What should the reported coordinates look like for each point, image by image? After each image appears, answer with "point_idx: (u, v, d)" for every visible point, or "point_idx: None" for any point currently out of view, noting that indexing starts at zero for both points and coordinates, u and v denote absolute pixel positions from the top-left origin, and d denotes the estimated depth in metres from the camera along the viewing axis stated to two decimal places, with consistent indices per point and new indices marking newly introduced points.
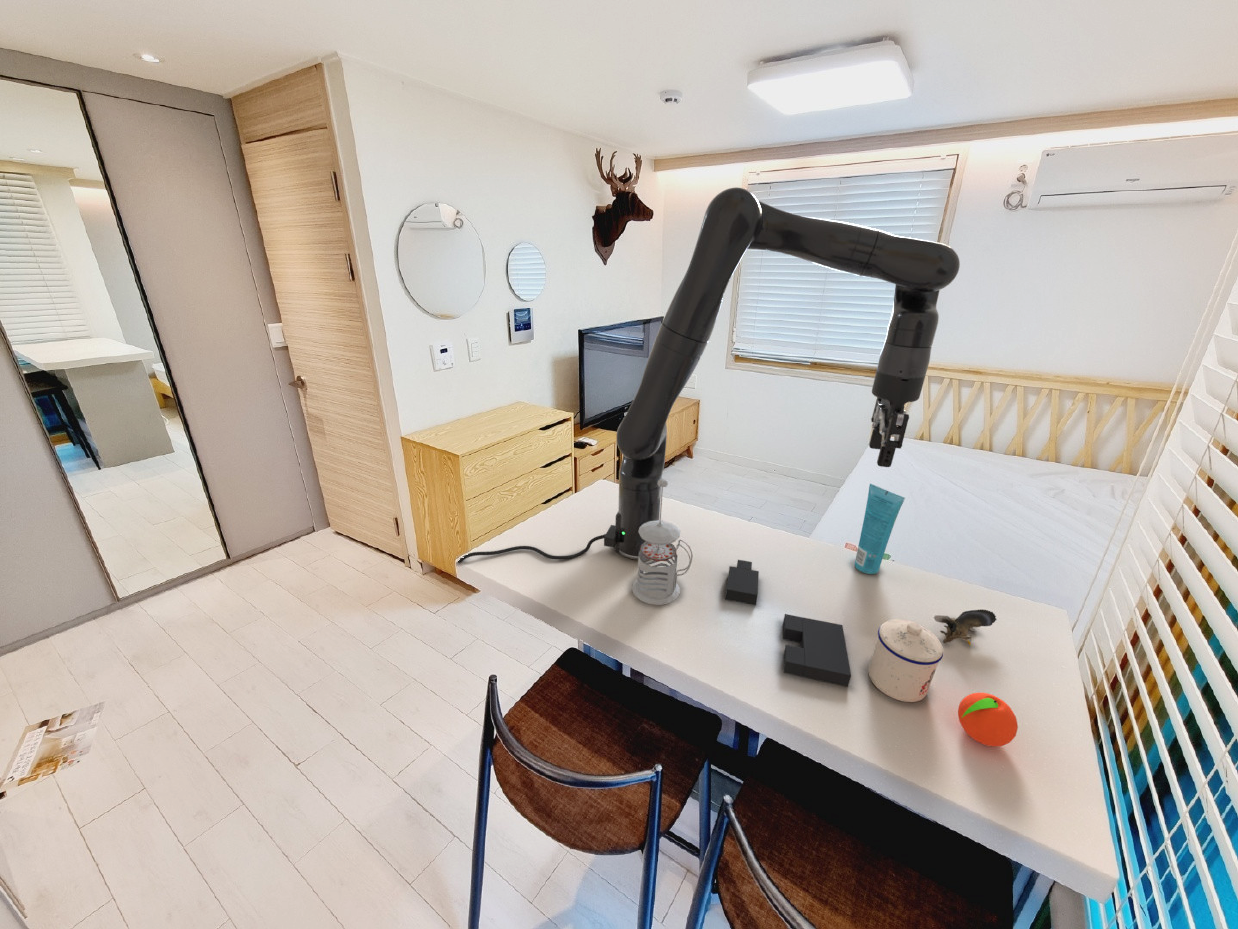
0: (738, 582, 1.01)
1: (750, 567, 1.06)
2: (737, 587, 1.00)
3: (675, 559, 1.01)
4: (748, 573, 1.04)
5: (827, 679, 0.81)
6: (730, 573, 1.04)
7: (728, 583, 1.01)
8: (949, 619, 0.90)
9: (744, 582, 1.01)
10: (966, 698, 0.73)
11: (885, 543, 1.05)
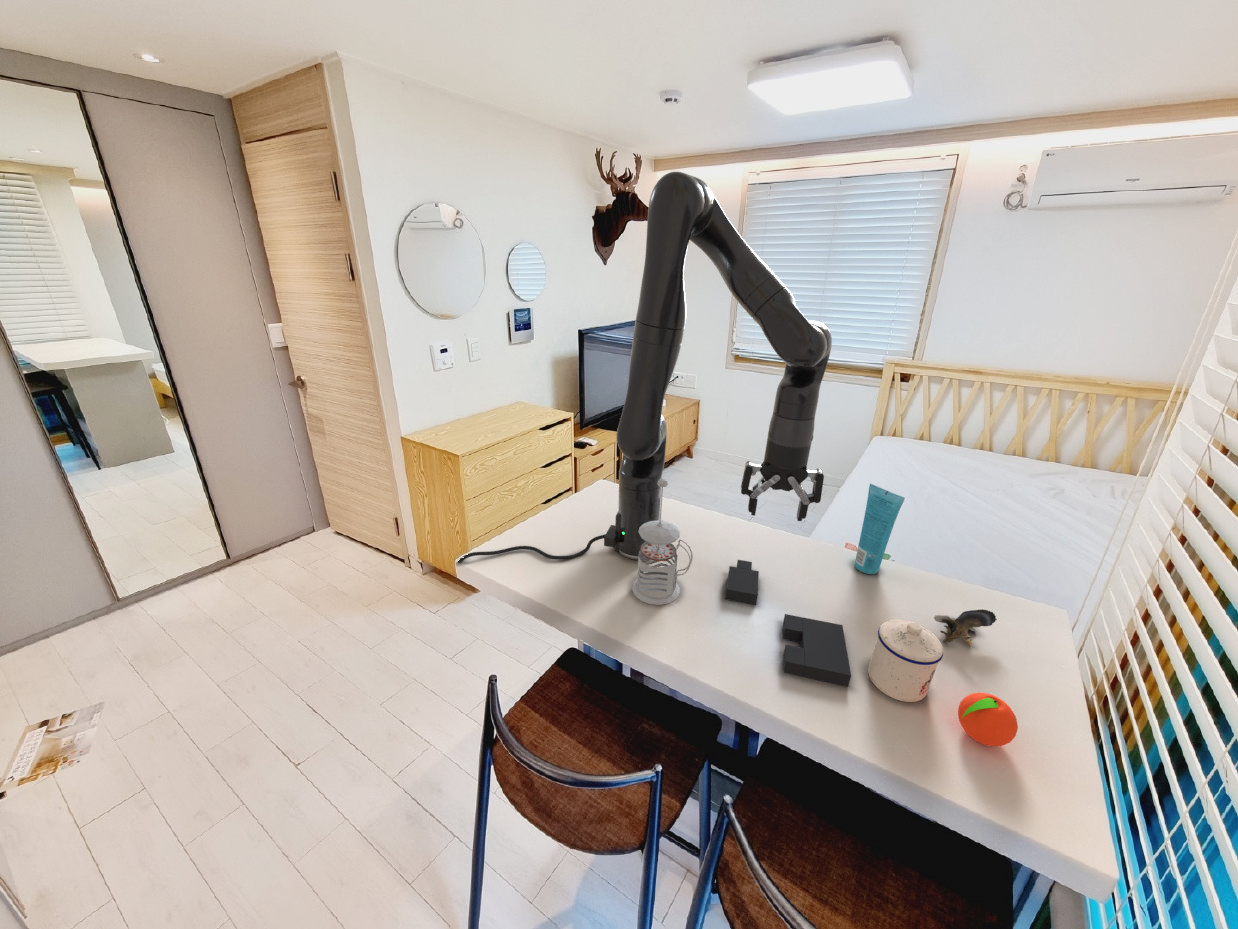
0: (738, 582, 1.01)
1: (750, 567, 1.06)
2: (737, 587, 1.00)
3: (675, 559, 1.01)
4: (748, 573, 1.04)
5: (827, 679, 0.81)
6: (730, 573, 1.04)
7: (728, 583, 1.01)
8: (949, 619, 0.90)
9: (744, 582, 1.01)
10: (966, 698, 0.73)
11: (885, 543, 1.05)
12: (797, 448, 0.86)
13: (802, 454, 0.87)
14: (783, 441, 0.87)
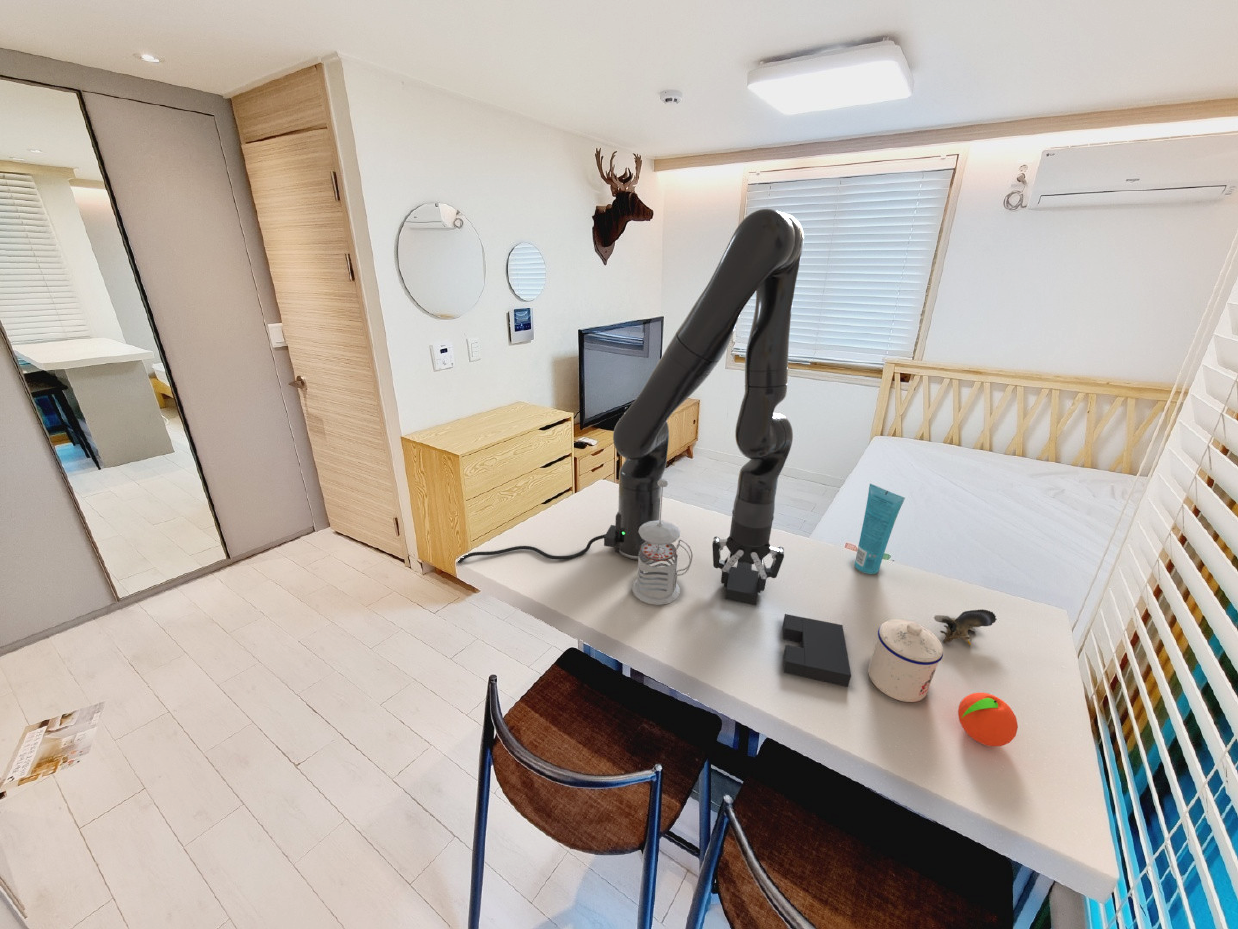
0: (738, 582, 1.01)
1: (750, 567, 1.06)
2: (737, 587, 1.00)
3: (675, 559, 1.01)
4: (748, 573, 1.04)
5: (827, 679, 0.81)
6: (730, 573, 1.04)
7: (728, 583, 1.01)
8: (949, 619, 0.90)
9: (744, 582, 1.01)
10: (966, 698, 0.73)
11: (885, 543, 1.05)
12: (757, 529, 0.93)
13: (762, 534, 0.93)
14: (744, 522, 0.93)
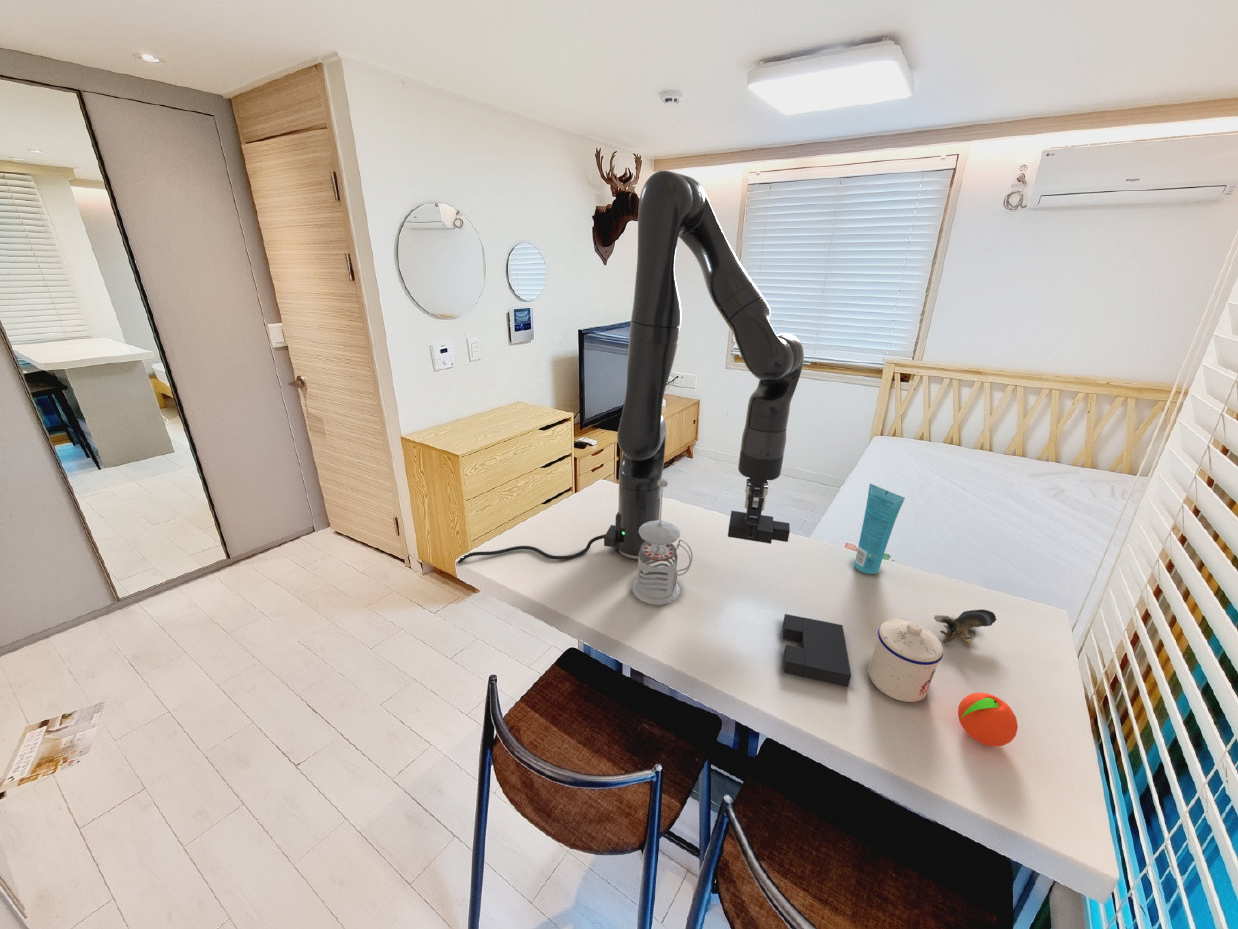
0: None
1: (778, 528, 0.94)
2: (736, 516, 0.97)
3: (675, 559, 1.01)
4: (765, 525, 0.95)
5: (827, 679, 0.81)
6: None
7: (741, 512, 0.99)
8: (949, 619, 0.90)
9: None
10: (966, 698, 0.73)
11: (885, 543, 1.05)
12: (741, 452, 0.90)
13: (743, 460, 0.89)
14: None
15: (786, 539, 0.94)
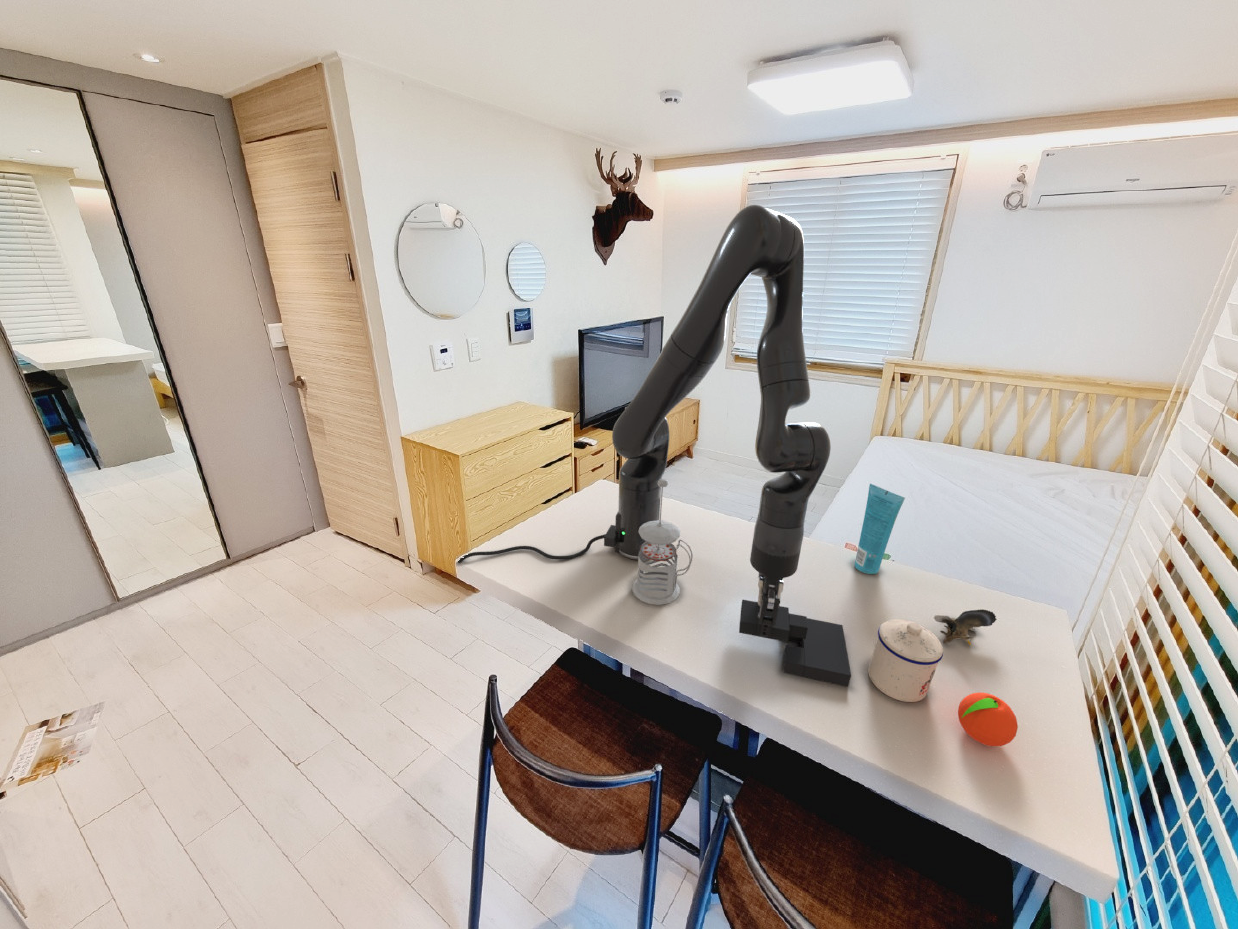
0: (758, 609, 0.88)
1: (794, 624, 0.85)
2: (748, 608, 0.89)
3: (675, 559, 1.01)
4: (780, 620, 0.86)
5: (827, 679, 0.81)
6: None
7: (753, 602, 0.90)
8: (949, 619, 0.90)
9: None
10: (966, 698, 0.73)
11: (885, 543, 1.05)
12: (753, 544, 0.81)
13: (755, 555, 0.81)
14: None
15: (804, 636, 0.85)
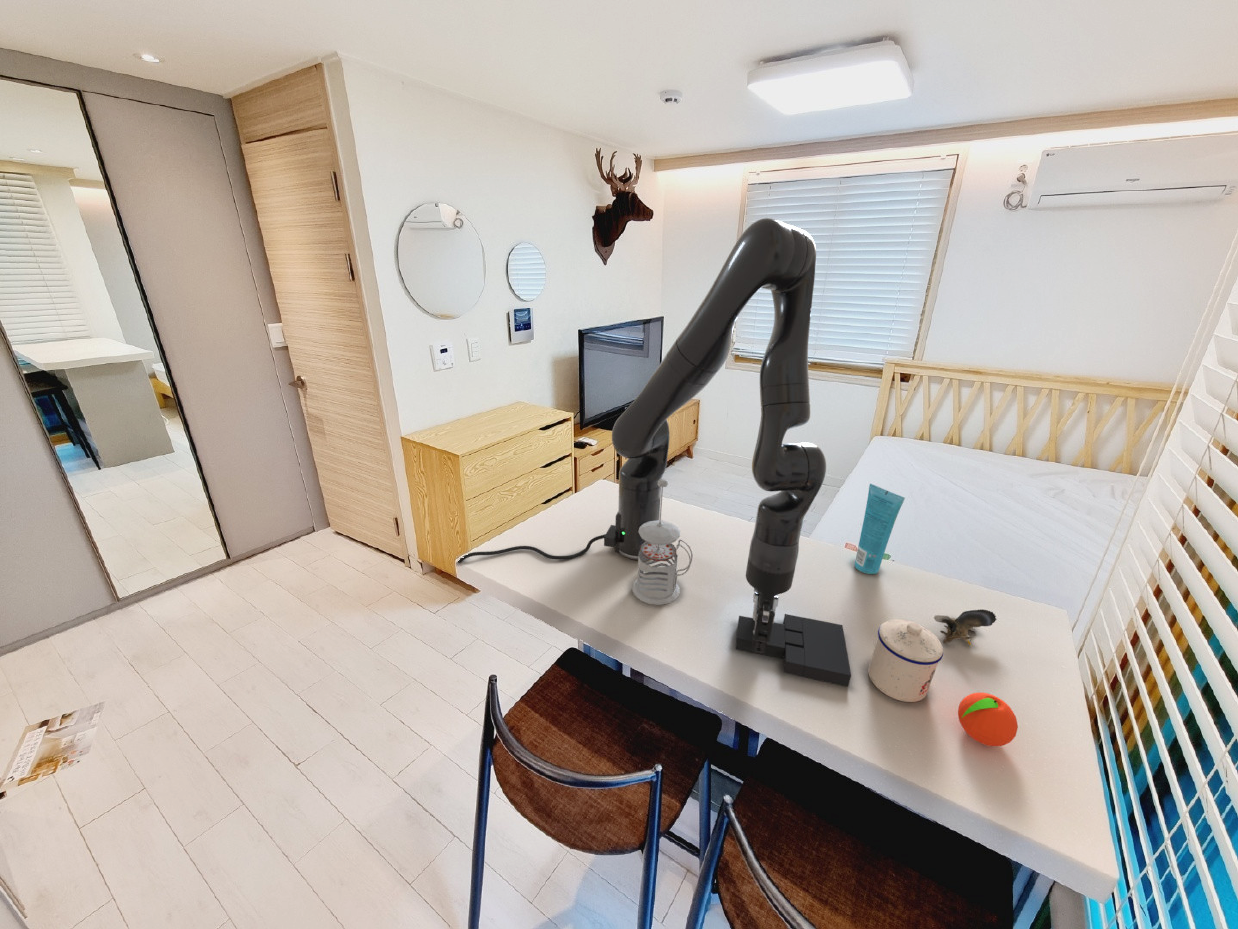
0: None
1: (790, 641, 0.86)
2: (745, 624, 0.90)
3: (675, 559, 1.01)
4: (776, 637, 0.87)
5: (827, 679, 0.81)
6: None
7: (750, 618, 0.92)
8: (949, 619, 0.90)
9: None
10: (966, 698, 0.73)
11: (885, 543, 1.05)
12: (749, 560, 0.82)
13: (751, 571, 0.82)
14: None
15: None
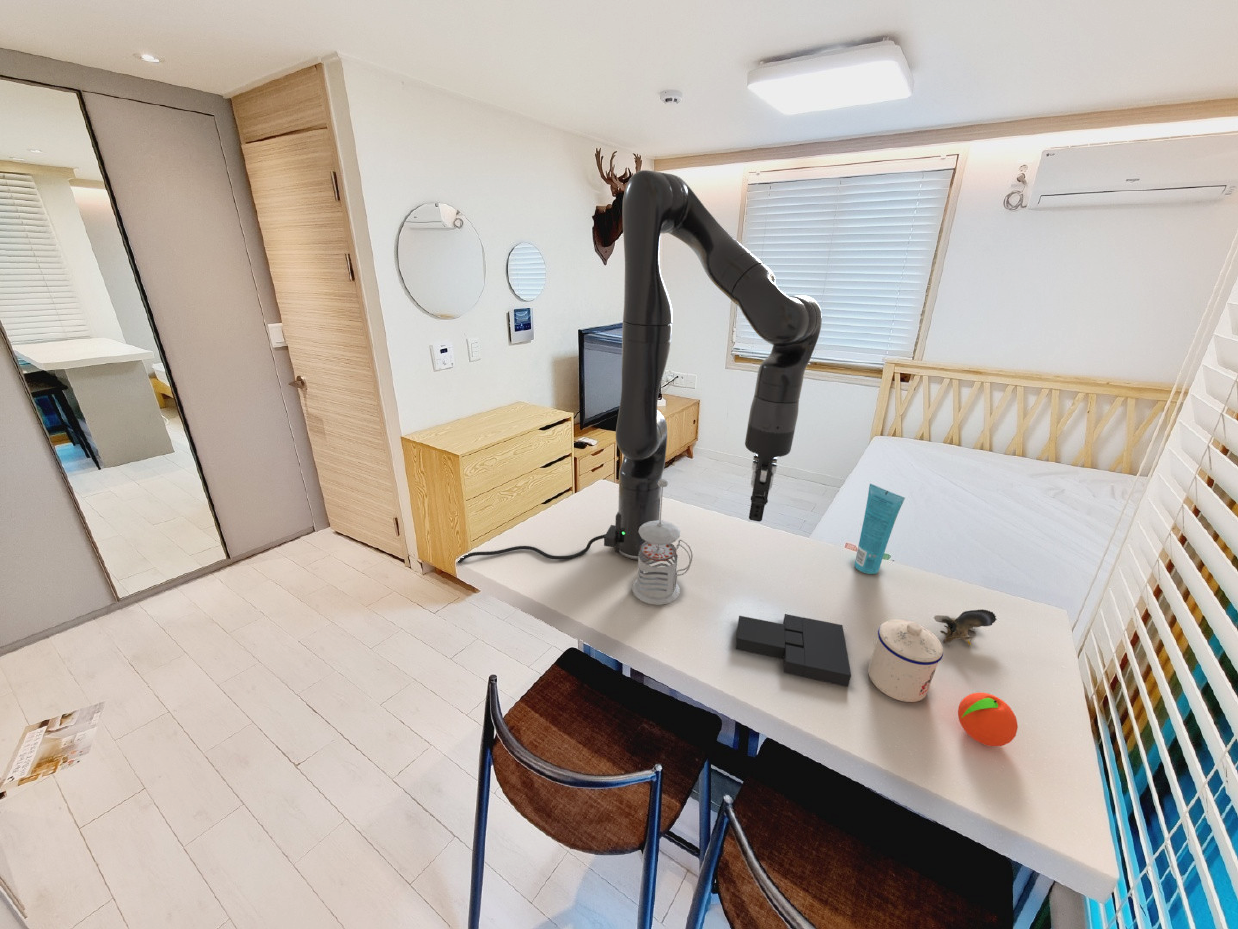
0: (754, 626, 0.90)
1: (790, 641, 0.86)
2: (745, 624, 0.90)
3: (675, 559, 1.01)
4: (776, 637, 0.87)
5: (827, 679, 0.81)
6: (769, 622, 0.91)
7: (750, 618, 0.92)
8: (949, 619, 0.90)
9: (756, 631, 0.89)
10: (966, 698, 0.73)
11: (885, 543, 1.05)
12: (748, 425, 0.83)
13: (750, 434, 0.82)
14: None
15: None
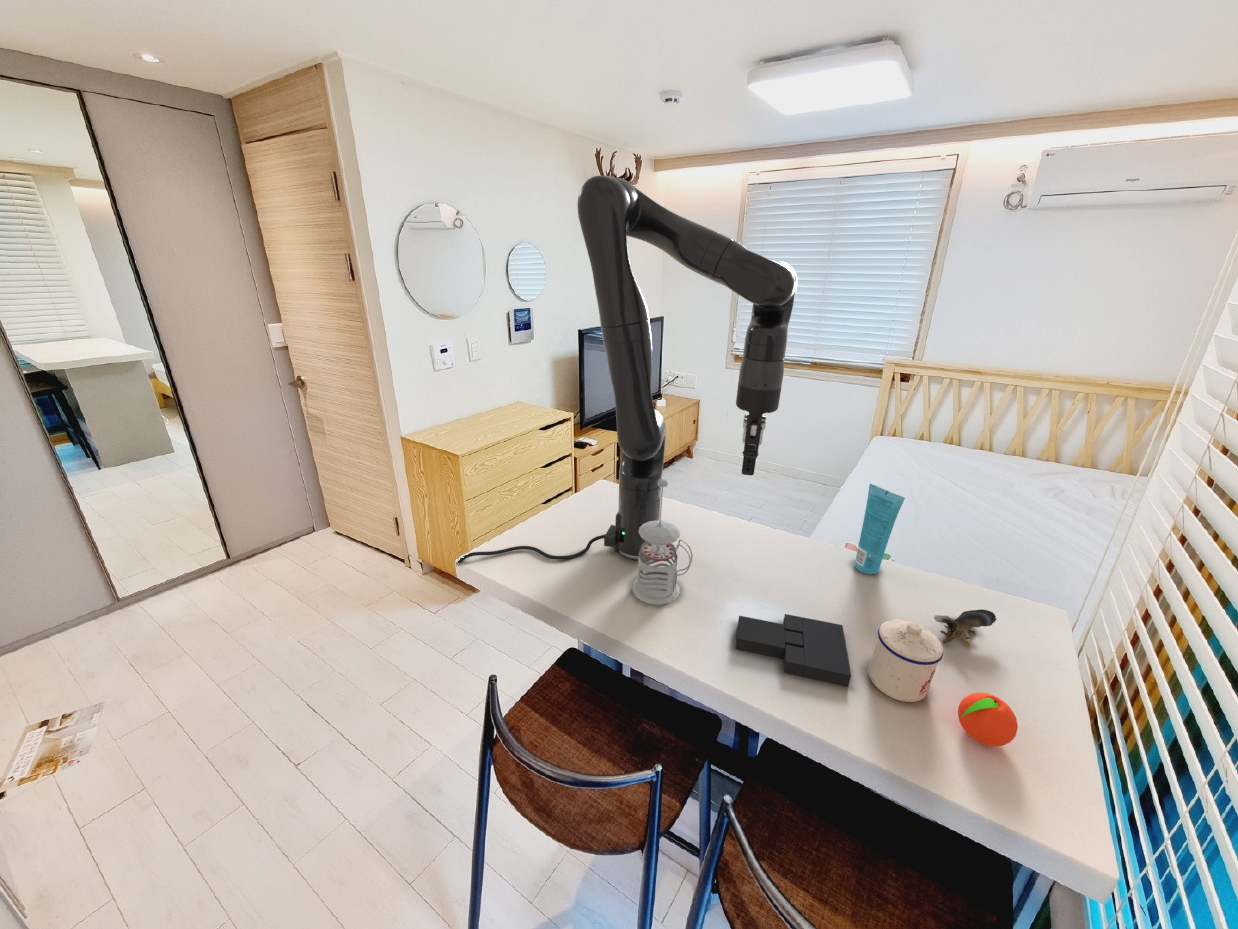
0: (754, 626, 0.90)
1: (790, 641, 0.86)
2: (745, 624, 0.90)
3: (675, 559, 1.01)
4: (776, 637, 0.87)
5: (827, 679, 0.81)
6: (769, 622, 0.91)
7: (750, 618, 0.92)
8: (949, 619, 0.90)
9: (756, 631, 0.89)
10: (966, 698, 0.73)
11: (885, 543, 1.05)
12: (738, 385, 0.89)
13: (740, 393, 0.89)
14: None
15: None
